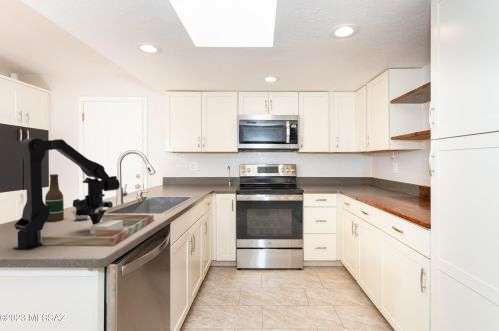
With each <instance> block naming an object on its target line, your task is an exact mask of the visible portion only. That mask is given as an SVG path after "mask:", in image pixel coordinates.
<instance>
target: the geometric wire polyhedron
mask: <svg viewBox="0 0 499 331" xmlns="http://www.w3.org/2000/svg"><path fill="white" fill-rule="evenodd" d="M76 210H77V209H76V208H75V209H74V210H73V211H72V210H71V213H72V214H73V215H74V217H75V221H77V220H86V221H88V219H87V218H88V217H89V216H88V215H76Z"/></svg>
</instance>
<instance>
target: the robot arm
mask: <svg viewBox="0 0 499 331" xmlns="http://www.w3.org/2000/svg"><path fill="white" fill-rule="evenodd" d="M19 150H20V154H21V156H22V158H23V161H24V162H25V180H26V181H25V183H26V185H25V186H26V188H25V189H26V202H25V204H24V206H23V209H22V215H21V218H20V219H18V220H17V221H16V222H15V223H14V225H13V226H14V228H15V230H16V231H17V246H14V247H13V249H14V250H31V249H35V248H37V247H39V246H43V245H42V235H41V234H42V230H43V229H44V226H45V223H47V221H48V217H49V216H50V212H49V209H50V205H47V204H45V201H44V199H43V198H44V196H43V173H42V172H43V168H42V163H43V161H44V159H45V156H46V152H47V151H52V150H55V151H57V152H59V153H60V154H61V155H63V156H64V157H66V159H69V160H70V161H71V162H72V163H74V164H75V165H77V166H78V167H79V168H80V170H81V171H82V172H83V173H84V174H85V176H86V177H85V179H84V180H83V181H82V184H87V195H85V197H84V199H80V198H76V199H74V200H72V207H74V208H75V209H77V210H76V215H88V217H89V218H90V220H91V223H92V225H94V224H97V223H100V222H101V221H102V217H103V215H104V214H106V213H105V212H107V210H106V209H104V208H108V209H111V208H114V207H113V202H112V201H109V200H108V201H104V200H103V197H105V193H103V191H104V192H109V191H110V192H111V191H118V190H119V189H120V185H121V183H120V181H119V179H118V177H117V175H113V176H109V174H108V173H107V172H106V171H105V166H103V165H102V164H100V163H98V162H96V161H94V160H90V159H89V158H87V157H86V156H84V155H83V154H82V153H80V152H79V151H78V150H76V149H75V148H73V147H72V146H71V145H70V144H69V143H68V142H66V141H65V140H64V139H63V138H62V139H61V138H55V139H52V140H49V139H48V140H43V139H42V138H41V139H40V138H26V139H23V140H21V142H19ZM48 215H49V216H48Z"/></svg>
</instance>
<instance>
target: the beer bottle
mask: <svg viewBox="0 0 499 331" xmlns="http://www.w3.org/2000/svg"><path fill="white" fill-rule="evenodd" d="M59 185H60V184H59V174H56V173H54V174H53V173H52V174H49V188H48V191H47V193H46V194H45V196H44V204H47V205H50V209H49V212H50V216H49V215H48V216H49V217H48V221H46V223H54V222H60V221H64V216H65V214H64V211H65V210H64V206H65V204H64V202H65V201H64V195H63V193H62V191H61V190H60V186H59Z"/></svg>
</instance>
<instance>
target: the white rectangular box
mask: <svg viewBox="0 0 499 331" xmlns="http://www.w3.org/2000/svg"><path fill="white" fill-rule="evenodd" d="M121 228H122V229H124V226H123V220H101V221H100V222H99V223H97V224H94V225H93V224H91V225H90V229H89V232H90V235H95V230H96V229H121Z"/></svg>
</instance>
